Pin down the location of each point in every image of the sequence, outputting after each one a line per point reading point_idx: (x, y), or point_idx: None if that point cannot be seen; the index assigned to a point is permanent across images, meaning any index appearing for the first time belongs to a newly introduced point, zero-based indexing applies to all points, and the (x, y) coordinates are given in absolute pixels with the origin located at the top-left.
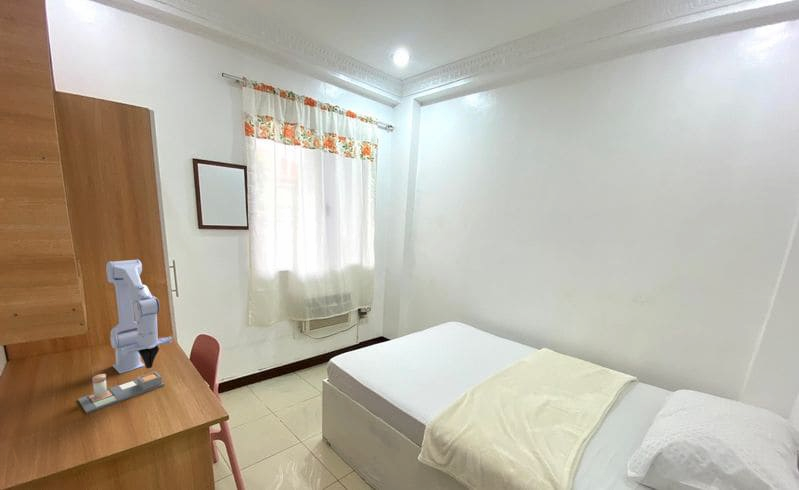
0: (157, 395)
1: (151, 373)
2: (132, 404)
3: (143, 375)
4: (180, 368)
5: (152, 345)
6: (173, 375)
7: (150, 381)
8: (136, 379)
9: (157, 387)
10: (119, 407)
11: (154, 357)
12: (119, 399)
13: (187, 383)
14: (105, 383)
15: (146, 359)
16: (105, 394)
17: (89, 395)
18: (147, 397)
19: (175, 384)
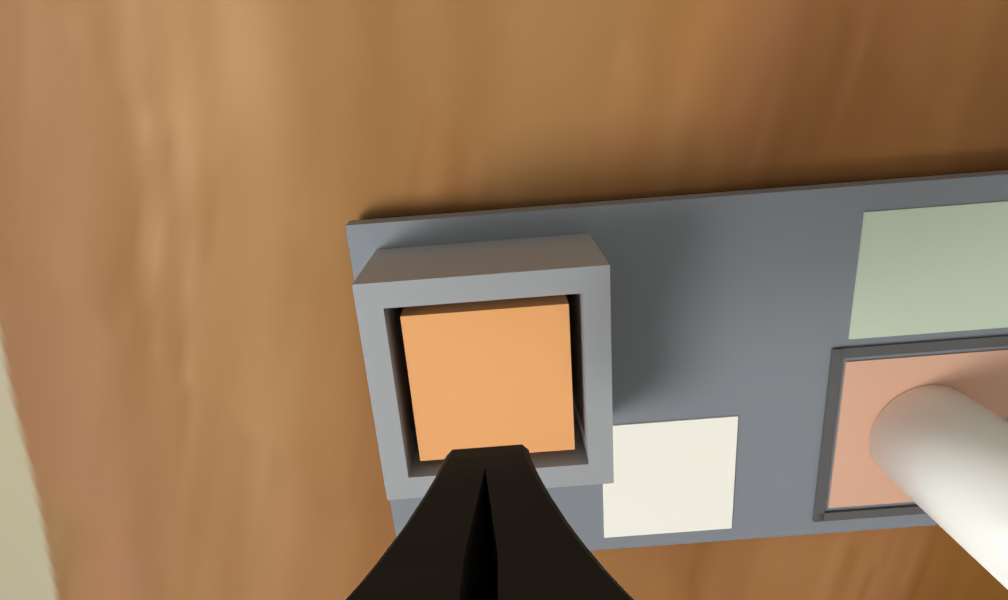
0: (474, 13)
1: None
2: (755, 4)
3: None
4: (127, 530)
5: None
6: (219, 416)
7: (503, 265)
8: None
9: (431, 214)
10: (873, 47)
11: (359, 591)
12: (838, 202)
13: (89, 65)
14: (1005, 497)
15: (584, 582)
16: (905, 405)
17: None
18: (578, 57)
19: (232, 159)
